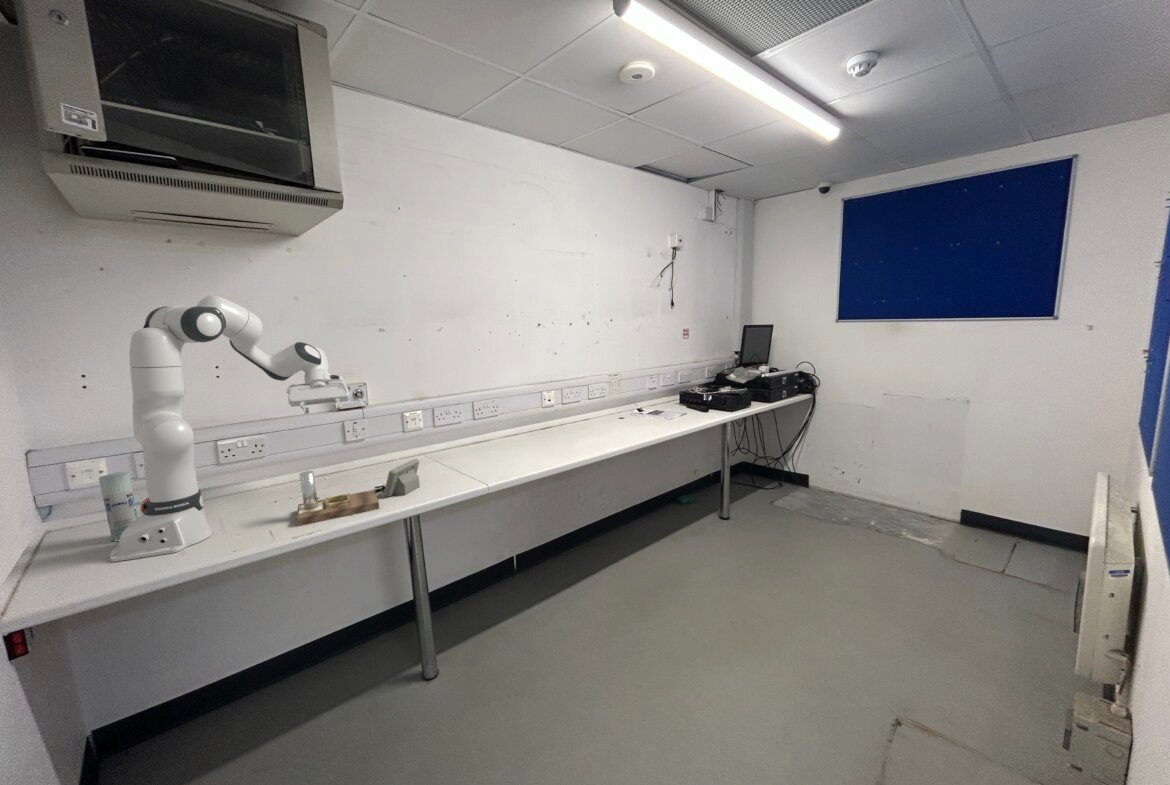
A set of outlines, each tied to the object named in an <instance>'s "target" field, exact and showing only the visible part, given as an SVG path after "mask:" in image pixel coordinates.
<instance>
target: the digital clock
mask: <svg viewBox="0 0 1170 785" xmlns="http://www.w3.org/2000/svg"><path fill="white" fill-rule="evenodd" d="M419 466H420V460H419V458H413V459H411V460H409V461H407V462H404V463H402V464H399V465H398V466H396V467H393V468H392V469H390V470H389V471H388V474H387V478H386V479H387V480H386V484H385V488H384V491H383V492H384V496H385V497H388V498H389V497H392V496H393V495H398V496H406V495H408V494H410V493H411V492H413V491H414V490H416V489H418V488H420V477H419V475H418V473H417V472H418V469H419Z"/></svg>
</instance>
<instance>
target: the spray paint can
mask: <svg viewBox="0 0 1170 785" xmlns="http://www.w3.org/2000/svg"><path fill="white" fill-rule="evenodd" d="M98 481H99V487H100V490H101V494H102V500H103V504H104V509H105V513H106V514H105V515H106V518H107V523H108V528H109V531H110V537H111V540H112V541H113V540H120V537H121V534H122V532H123V531H124V530H125V529H126V528H127V527H128V526H129V525H130V524H132V523H133V522H134V521H135V520H136V519H138V518H139V517H138V513H137V512H138V511H137V507H136V502H135V496H134V490H133V486H132V480H131V475H130V472H129V471H120V472H114V473H108V474H105V475H102V476H100V477H98Z"/></svg>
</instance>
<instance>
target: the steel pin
mask: <svg viewBox="0 0 1170 785" xmlns="http://www.w3.org/2000/svg"><path fill="white" fill-rule="evenodd" d="M299 481H300V488H301V496H302V501H303V503H304V509H305V510H310V509H314V508H316V507H318V496H317V488H316V480H315V472H314V470H308V471H307V470H306V471H303V472H300V473H299Z"/></svg>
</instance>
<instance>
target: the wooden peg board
mask: <svg viewBox="0 0 1170 785" xmlns="http://www.w3.org/2000/svg"><path fill="white" fill-rule="evenodd" d="M317 501H318V507H316V508H314V509H310V510H305V509H304V502H303V503H298V505H297V513H296V514H297V515H296V524H297V527H300V526H305V525H309V524H314V523H319V522H324V521H328V520H329V521H330V520H334V519H338V518H339V519H340V518H343V517H347V516H352V515H357V514H361V513H367V512H371V510H372V511H375V509H376V510H379V509H380V502H379V499H378V497H377V494H376V491H375V489H372V490H366V491H361V492H360V491H359V492H355V493H343V494H340V495H339V494H338V495H333V496H328V497H325V498H323V499H320V500H318V499H317ZM366 511H367V512H366Z"/></svg>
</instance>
